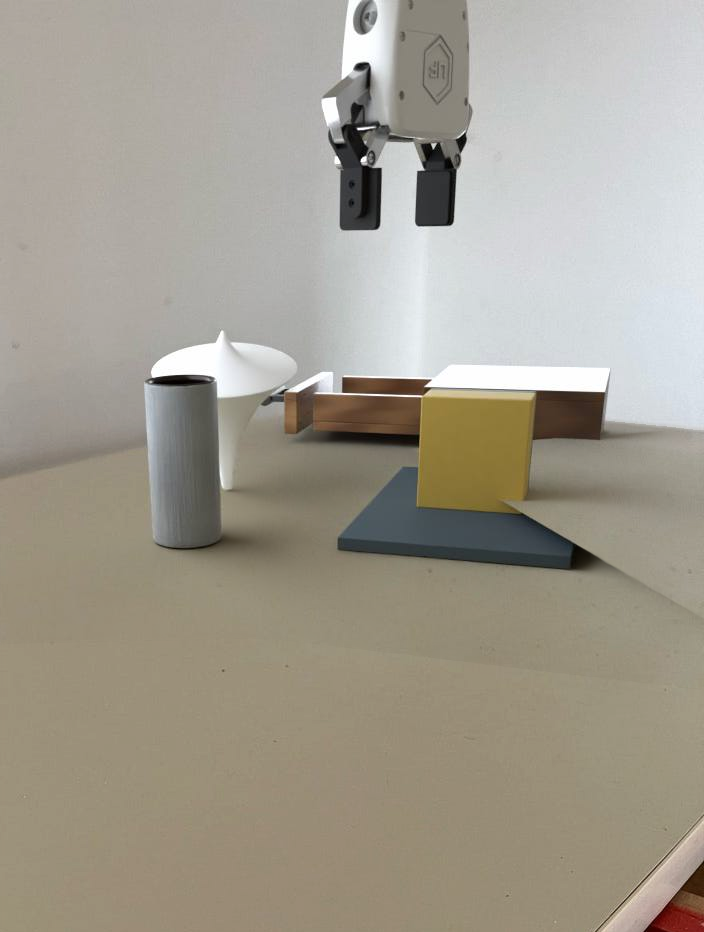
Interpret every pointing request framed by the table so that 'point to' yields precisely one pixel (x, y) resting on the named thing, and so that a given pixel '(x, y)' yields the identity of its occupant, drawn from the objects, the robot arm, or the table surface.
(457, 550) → the mat
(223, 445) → the white spinning top
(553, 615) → the table surface
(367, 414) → the drawer
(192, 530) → the planter
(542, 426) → the cabinet
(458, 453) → the sponge
